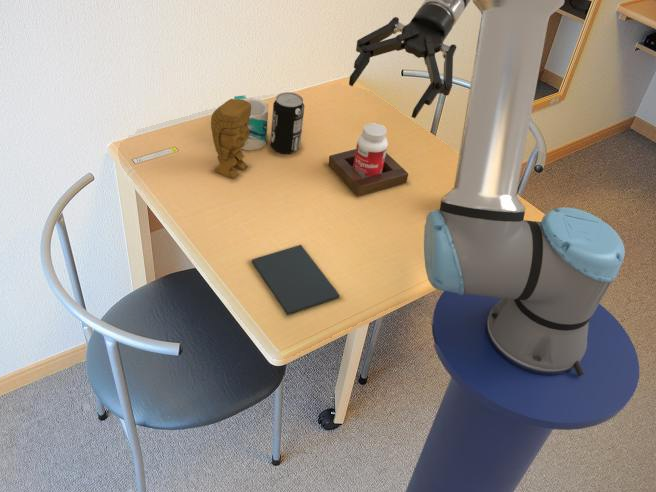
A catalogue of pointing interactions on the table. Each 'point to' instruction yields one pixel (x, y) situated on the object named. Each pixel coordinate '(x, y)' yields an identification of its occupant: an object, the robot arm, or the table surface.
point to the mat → (295, 279)
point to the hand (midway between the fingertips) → (382, 97)
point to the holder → (367, 185)
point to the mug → (256, 123)
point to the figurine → (231, 135)
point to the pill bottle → (371, 150)
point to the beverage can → (287, 123)
